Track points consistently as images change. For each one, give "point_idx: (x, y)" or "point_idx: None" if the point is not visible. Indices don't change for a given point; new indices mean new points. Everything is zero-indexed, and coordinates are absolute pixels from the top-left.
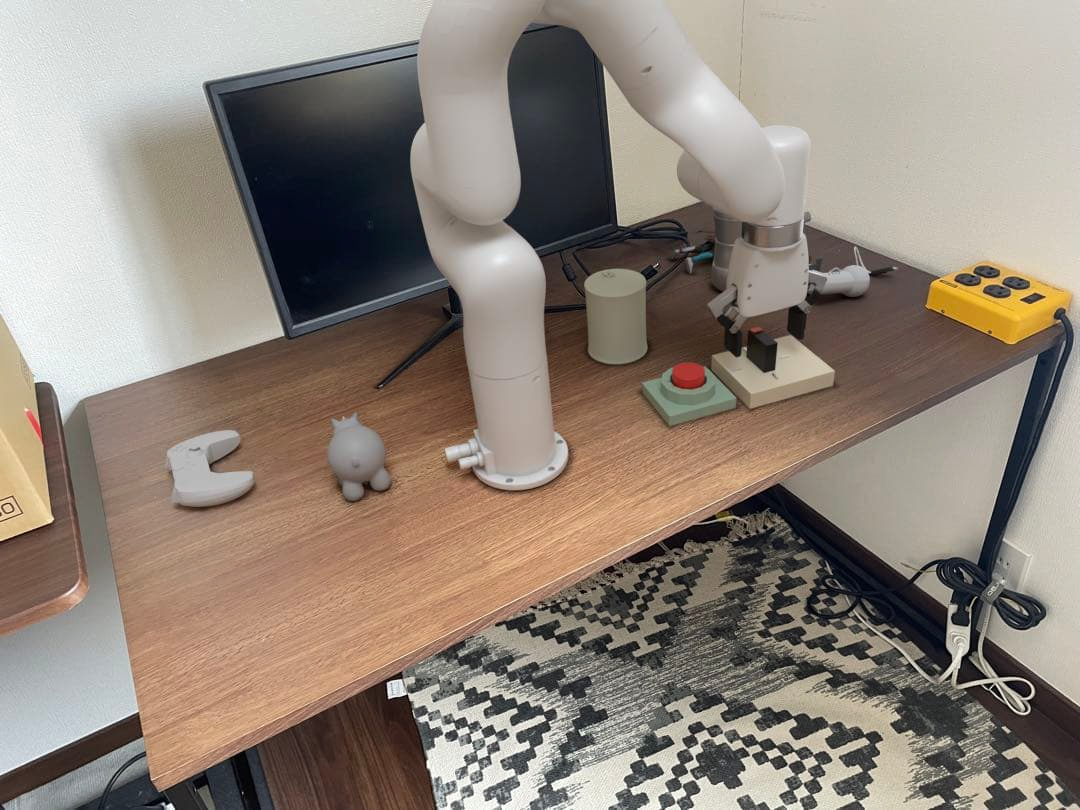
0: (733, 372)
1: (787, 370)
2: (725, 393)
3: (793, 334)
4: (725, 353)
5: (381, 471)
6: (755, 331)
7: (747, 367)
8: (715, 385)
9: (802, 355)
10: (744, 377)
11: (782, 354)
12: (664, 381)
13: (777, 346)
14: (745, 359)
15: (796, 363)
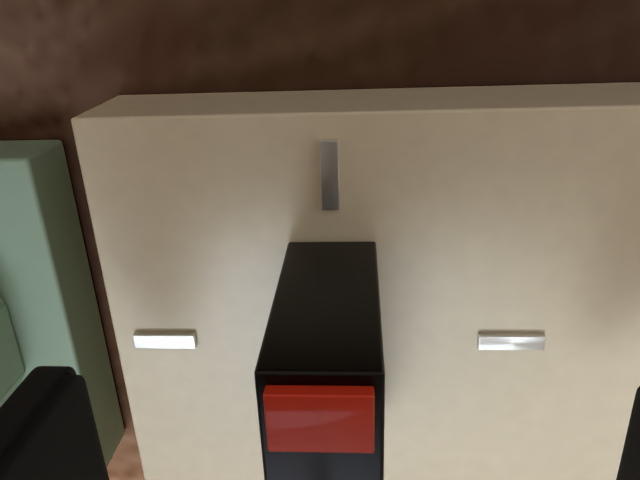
0: (140, 350)
1: (436, 449)
2: None
3: (627, 467)
4: (173, 138)
5: None
6: (291, 451)
7: (241, 341)
8: (32, 357)
9: (622, 368)
10: (180, 414)
11: (522, 309)
12: None
13: (562, 210)
14: (270, 263)
15: (528, 418)
